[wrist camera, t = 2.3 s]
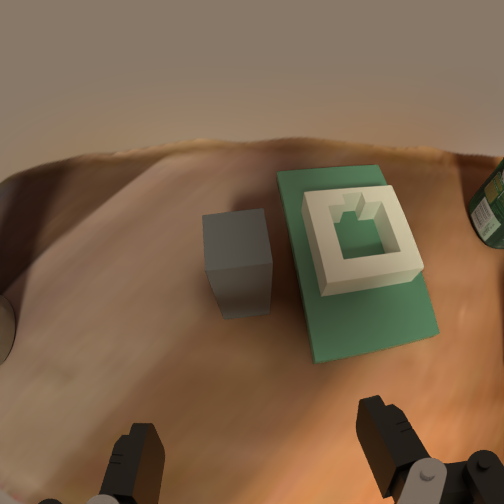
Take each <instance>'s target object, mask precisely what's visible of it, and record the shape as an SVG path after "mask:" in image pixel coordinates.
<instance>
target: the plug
mask: <svg viewBox="0 0 504 504" xmlns="http://www.w3.org/2000/svg"><path fill="white" fill-rule="evenodd" d="M202 218H203V239H204V257H205V271H206V274H207V277H208V279H209V282H210V285H211V287H212V290H213V292H214V295H215V298H216V300H217V303H218V305H219V308H220V310H221V313H222V316H223V318H224V319H233V318H241V317H250V316H258V315H265V314H270V303H271V287H272V272H273V260H272V254H271V248H270V242H269V236H268V230H267V225H266V219H265V213H264V208H259V209H250V210H242V211H233V212H225V213H217V214H210V215H202Z"/></svg>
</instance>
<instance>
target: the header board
mask: <svg viewBox="0 0 504 504" xmlns="http://www.w3.org/2000/svg"><path fill="white" fill-rule="evenodd" d="M277 183H278V187H279V192H280V196H281V201H282V206H283V210H284V215H285V219H286V224H287V229H288V234H289V238H290V243H291V248H292V253H293V258H294V263H295V268H296V273H297V278H298V283H299V288H300V293H301V299H302V304H303V309H304V315H305V320H306V325H307V331H308V336H309V342H310V348H311V354H312V359H313V364H318V363H323V362H329V361H334V360H339V359H344V358H349V357H354V356H358V355H363V354H368V353H372V352H376V351H381V350H385V349H389V348H393V347H397V346H401V345H405V344H409V343H413V342H416V341H420V340H424V339H427V338H431V337H434V336H436V335H437V334H439V333H440V332H439V329H438V325H437V321H436V318H435V314H434V310H433V307H432V304H431V300H430V297H429V294H428V291H427V287H426V284H425V281H424V278H423V275H422V272H421V270H422V269H423V268H424V265H423V262H422V260H421V257H420V254H419V251H418V249H417V246H416V243H415V241H414V238H413V235H412V233H411V230H410V228H409V225H408V223H407V220H406V218H405V215H404V213H403V211H402V208H401V206H400V204H399V201H398V199H397V197H396V194H395V192H394V190H393V188H392V185H389V186H388V185H387V183H386V181H385V179H384V177H383V174H382V172H381V170H380V168H379V166H378V165H364V166H345V167H328V168H314V169H301V170H290V171H279V172H277Z"/></svg>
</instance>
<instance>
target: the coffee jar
mask: <svg viewBox="0 0 504 504" xmlns="http://www.w3.org/2000/svg"><path fill="white" fill-rule="evenodd" d="M469 212H470V217H471V220H472V223H473V226H474V228H475V230H476V232H477V233H478V235H479V236H480V238H481V239H482V240H483V242H484V243H485V244H486V245H487V246H489V247H491V248H495V249H504V158H503V160H502V161H501V162H500V164H499V165H498V166H497V168H496V169H495V170H494V172H493V173H492V174H491V175H490V177H489V178H488V179H487V180H486V181H485V183H484V184H483V185H482V186H481V187H480V189H479V190H478V191H477V193H476V194H475V195H474V196H473V198H472V199H471V200H470V203H469Z"/></svg>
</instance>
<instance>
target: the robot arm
mask: <svg viewBox="0 0 504 504" xmlns="http://www.w3.org/2000/svg"><path fill="white" fill-rule="evenodd" d="M14 334H15V316H14V312H13V308H12V306H11V304H10V302H9V301H8V300H7V299H6V298H5V297H3V296H2V295H0V364H1V363H2V362H3V361H4V360H5V359H6V357H7V356H8V354H9V352H10V349H11V347H12V343H13V340H14ZM356 432H357V437H358V439H359V442H360V444H361V446H362V449H363V451H364V454H365V456H366V458H367V461H368V463H369V465H370V468H371V470H372V473H373V475H374V477H375V480H376V482H377V485H378V487H379V490H380V492H381V494H382V497H383V499H384V498H387V497H390V496H392V497H393V500H394V504H504V466H503V464H502V463H501V461H500V460H499V458H498V457H497V455H496V454H495V453H493V452H491V451H488V450H480V451H477V452H475V453H473V454H472V455H471V456H470V457H469V459H468V461H463V462H456V463H448V464H447V463H442V462H441V461H440V460H438V459H435V458H431V457H430V455H429V454H428V452H427V451H426V449H425V447H424V446H423V444H422V442H421V441H420V439H419V437H418V436H417V434H416V432H415V431H414V429H412V426H411V424H410V422H408V419H407V418H406V416H405V414H404V413H403V411H402V410H400V409H399V408H398V407H396V406H395V405H393V404H391V405H387V406H385V404H384V402H383V400H382V399H381V397H380V396H379V395H376V396H372V397H369V398H364V399H361V400H360V401H359V406H358V413H357V420H356ZM164 462H165V451H164V447H163V445H162V442H161V440H160V438H159V436H158V434H157V432H156V429H155V427H154V425H153V424H152V423H133V424H132V427H131V430H130V433H129V435H122V436H121V437H120V438H119V440H118V441H117V442H116V443H115V445H114V448H113V451H112V456H111V457H110V460H109V464H108V467H107V470H106V473H105V476H104V480H103V483H102V486H101V490H100V492H99V494H98V495H97V496H94V497H92V498H91V499H89V500H88V502H87V503H86V504H158V500H159V494H160V487H161V481H162V475H163V468H164ZM39 504H62V503H61V502H59V501H58V500H55V499H45V500H43V501H41V502H40V503H39Z"/></svg>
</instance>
